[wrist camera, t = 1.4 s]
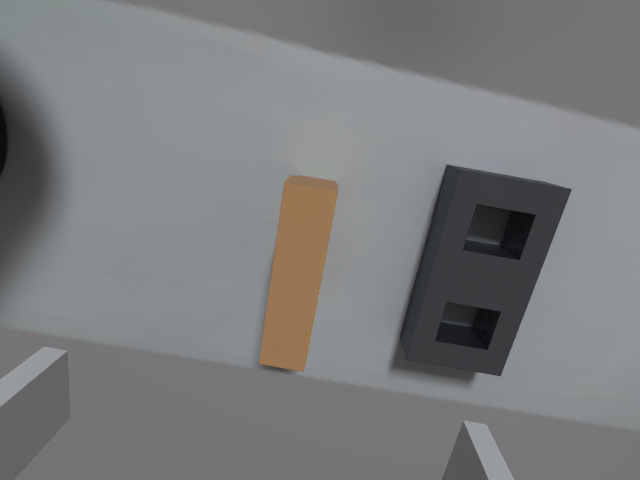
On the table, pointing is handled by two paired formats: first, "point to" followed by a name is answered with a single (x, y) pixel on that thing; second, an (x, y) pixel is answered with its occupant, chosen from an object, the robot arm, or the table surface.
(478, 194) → the slotted gray block
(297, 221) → the notched wooden block
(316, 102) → the table surface
